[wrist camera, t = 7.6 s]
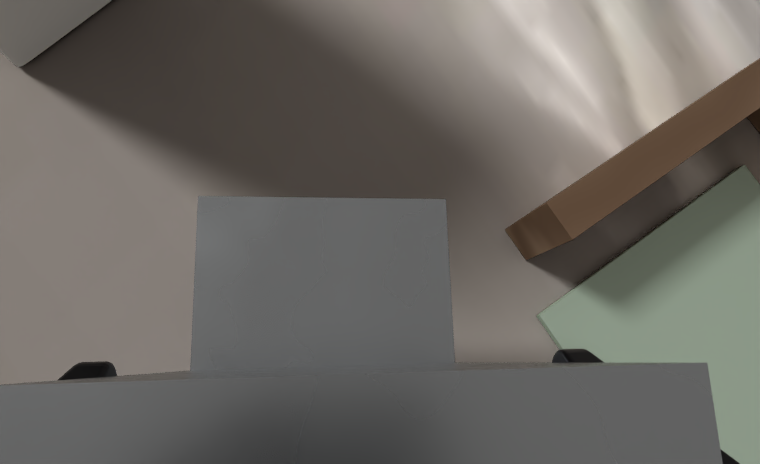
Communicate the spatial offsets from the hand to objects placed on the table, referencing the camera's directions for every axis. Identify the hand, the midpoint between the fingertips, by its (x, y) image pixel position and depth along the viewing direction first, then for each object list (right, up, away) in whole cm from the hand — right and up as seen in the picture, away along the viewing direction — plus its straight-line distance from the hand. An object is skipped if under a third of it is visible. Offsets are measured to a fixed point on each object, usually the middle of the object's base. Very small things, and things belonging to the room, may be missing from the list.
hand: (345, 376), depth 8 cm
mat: (+15, -3, +15) cm, 22 cm away
